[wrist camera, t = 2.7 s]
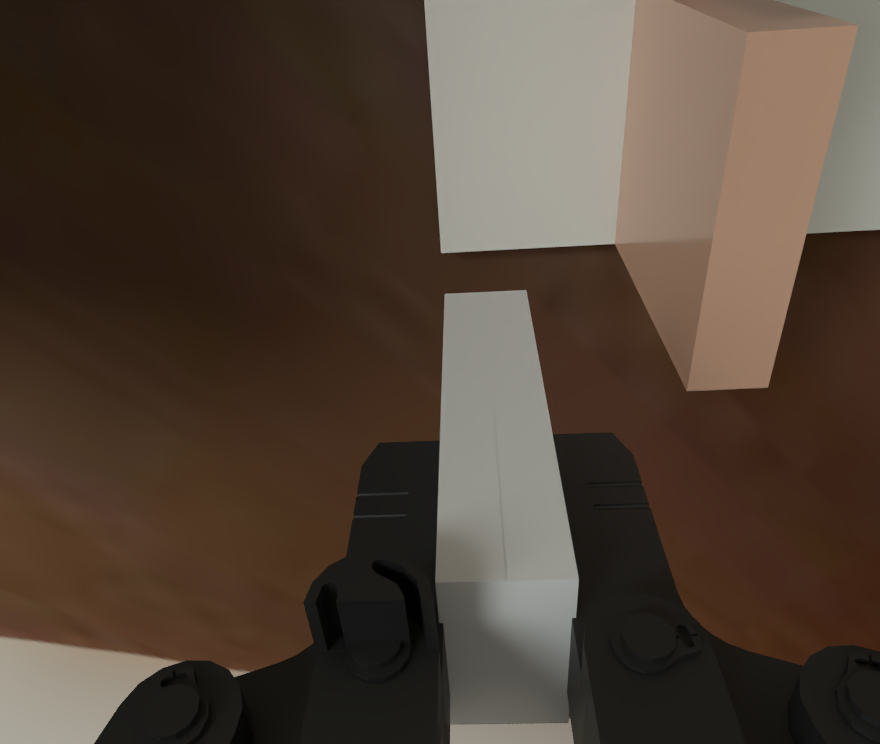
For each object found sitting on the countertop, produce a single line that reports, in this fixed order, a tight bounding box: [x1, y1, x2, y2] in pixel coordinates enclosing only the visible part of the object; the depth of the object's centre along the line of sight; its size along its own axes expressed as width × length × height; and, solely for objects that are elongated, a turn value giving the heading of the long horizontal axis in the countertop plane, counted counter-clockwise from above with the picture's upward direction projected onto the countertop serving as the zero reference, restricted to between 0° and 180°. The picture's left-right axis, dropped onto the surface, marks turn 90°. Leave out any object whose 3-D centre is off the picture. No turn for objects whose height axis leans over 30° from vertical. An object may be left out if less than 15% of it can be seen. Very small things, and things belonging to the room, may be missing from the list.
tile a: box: [615, 0, 859, 391], centre depth 21 cm, size 2×9×10 cm, turn 4°
